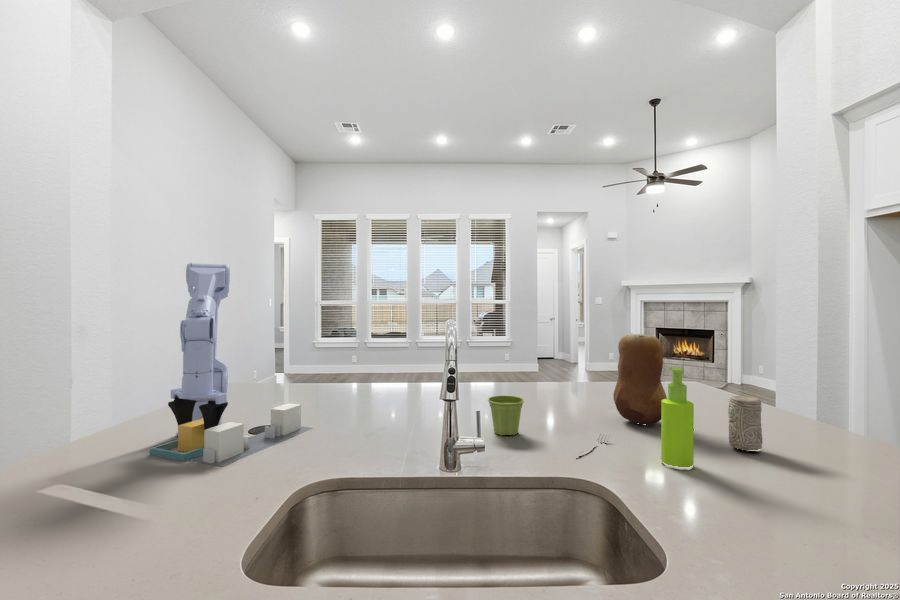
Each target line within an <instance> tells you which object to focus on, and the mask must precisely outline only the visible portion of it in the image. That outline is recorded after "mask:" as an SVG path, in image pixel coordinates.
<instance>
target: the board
mask: <svg viewBox="0 0 900 600" xmlns="http://www.w3.org/2000/svg"><path fill="white" fill-rule="evenodd" d="M312 429H313V427H309V426H302V425H301V429H299V430H296V431H294V432H291V433H289V434H286V435H280V425H276V424H271V423H270V426H268V425H266V426H264V431H263V432H260V433H258V434H255V435H252V436H250V435H246V434H245V435H244V437H243V453H240V454H238V455H235V456H233V457H231V458H228V459H226V460H223V461H221V462H215V450H214V449H208V448H205V449H203V454H202V455H200V456H197V457H194V458H192V459H189V460H187V461H190V462H193V463H194V462H195V463H198V464H199V463H200V464H204V465H209V466H215V467H221V468H222V467H225V466H228V465H230V464H233V463H235V462H237V461H239V460H240V461H241V460H242V459H244V458H247V457H248V456H252V455H253V454H255V453H256V454H257V453H258V452H260V451H263V450H265V449H268V448H269V447H272V446H275V445H277V444H279V443H281V442H284V441H287V440H289V439H292V438H294V437H295V436H297V435H301V434H302V433H305V432H307V431H309V430H312Z"/></svg>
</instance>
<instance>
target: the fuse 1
mask: <svg viewBox="0 0 900 600" xmlns="http://www.w3.org/2000/svg"><path fill="white" fill-rule="evenodd" d="M244 425H245V424H244V423H240V422H239V423H238V422H233V421H227V422H225V423H221V425H218V426H215V427H212V428H209V429H205V433H204V449H205V448H208V449H214V450H215V462H221V461H223V460H226V459H228V458H231V457H233V456H235V455H238V454H240V453H243V437H244V429H245V428H244V427H245V426H244Z"/></svg>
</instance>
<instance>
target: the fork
mask: <svg viewBox="0 0 900 600" xmlns="http://www.w3.org/2000/svg"><path fill="white" fill-rule="evenodd" d="M601 435H602V436H601ZM604 435H605V434H602V433H600V434H599V435H598V438H597V440H598V441H601V442H603V441H604V442H607V443H608V441H609V440H610V439H609V438H610V434H609V435H608V437H607V434H606V435H605V436H604ZM606 438H607V439H606ZM597 440H596V441H597ZM602 440H603V441H602ZM605 440H606V441H605Z"/></svg>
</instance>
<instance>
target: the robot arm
mask: <svg viewBox="0 0 900 600" xmlns="http://www.w3.org/2000/svg"><path fill="white" fill-rule="evenodd" d="M230 272H231V270H230V265H228V264H227V263H223V264H220V263H219V264H218V263H193V262H189V263H188V264H186V267H185V280H186V285H187V291H188V293H189V297H190V299H189V301H188V304H187V309H186V314H185V318H184V319H181V321H180V326H179V337H180V343H181V352H182V353H183V355H182V379H181V387H180V388H178V387H177V388H174V389H170V399H172V401H168V403H167V405H168V408H170V410H171V411H172V413H173V416H174V417H175V420H176V423H177V426H178V425H181V424H185V423H188V422H192V421H195V420H199V419H202V418H203V421H204V432H205V429H209V428H212V427H215V426H218V425H221V424H222V415H223V413H224V412H225V410H226V408H227V407H228V405H229V402H228V399H227V393H228V390H229V389H228V388H229V387H228V386H229V383H228V382H229V375H228V366H227V365H226V364H225V362H223V361H221V360H220V359H218V358H217V349H218V348H217V346H218V344H217V342H218V324H219V323H218V321H219V320H218V317H219V307H220V304H221V301H222V300H224V299H226V298H228V297H229V296H228V295H229V292H230V281H231V277H230V276H231V273H230ZM175 436H178V432H175Z"/></svg>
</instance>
